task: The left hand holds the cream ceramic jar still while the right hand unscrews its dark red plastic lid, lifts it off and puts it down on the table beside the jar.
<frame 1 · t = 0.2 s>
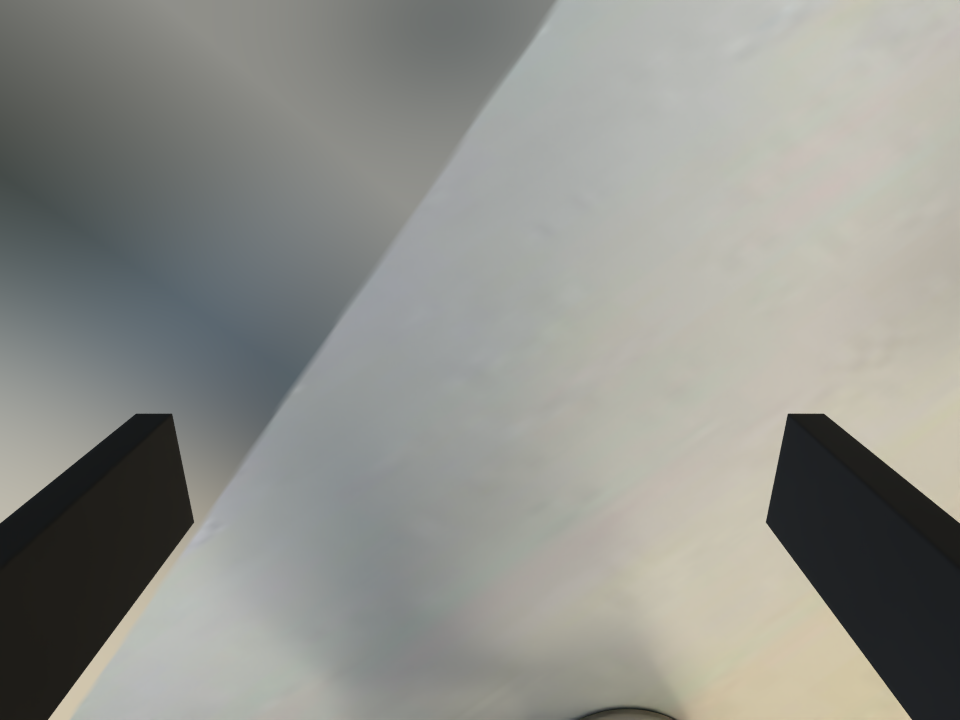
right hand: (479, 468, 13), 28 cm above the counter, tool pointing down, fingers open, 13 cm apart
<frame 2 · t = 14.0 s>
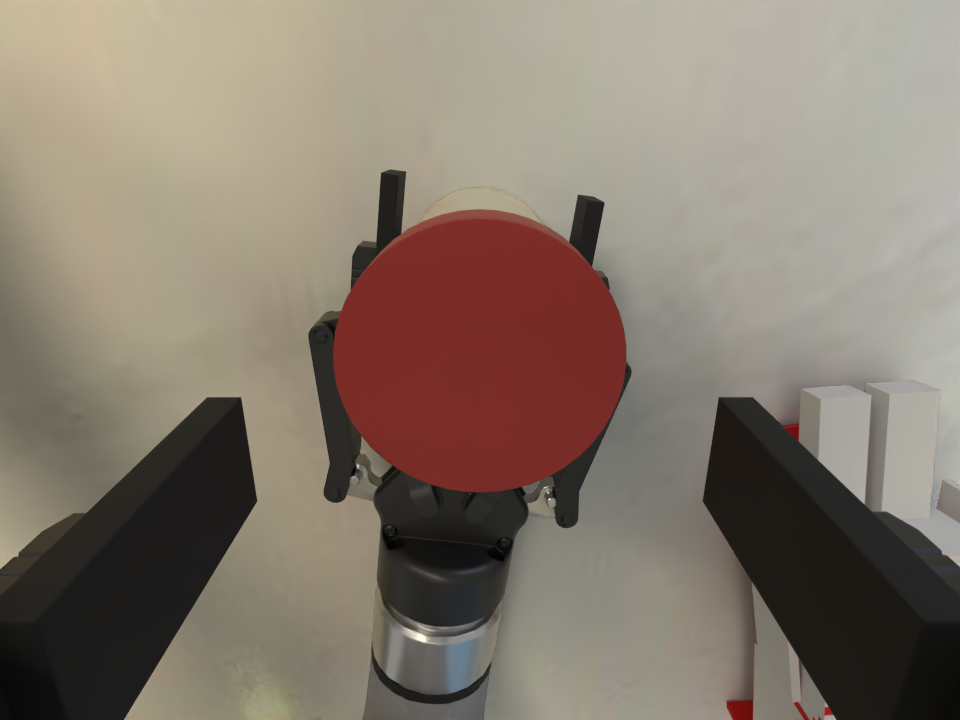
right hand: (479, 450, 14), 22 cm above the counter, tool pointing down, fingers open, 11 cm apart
jar: (479, 260, 35), on the counter, touching left hand
lid: (479, 363, 19), point 17 cm above the counter, screwed on, not yet turned
toy: (799, 560, 42), on the counter
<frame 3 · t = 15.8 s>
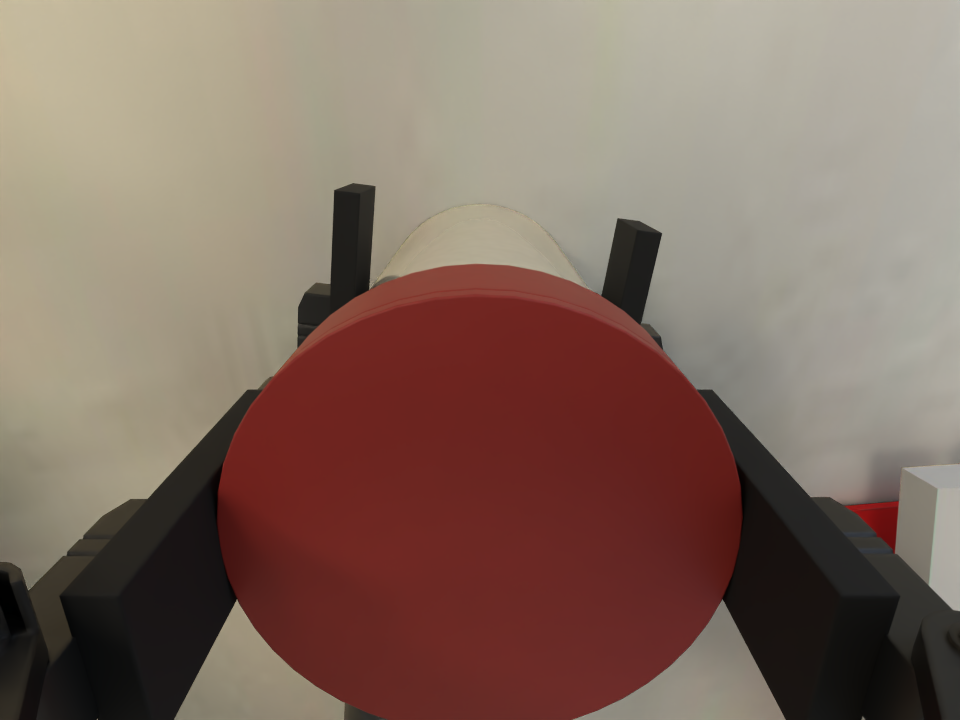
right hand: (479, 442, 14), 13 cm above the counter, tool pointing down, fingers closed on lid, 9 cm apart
jar: (479, 299, 26), on the counter, touching left hand
lid: (479, 536, 11), point 17 cm above the counter, screwed on, not yet turned, touching right hand
toy: (876, 662, 34), on the counter
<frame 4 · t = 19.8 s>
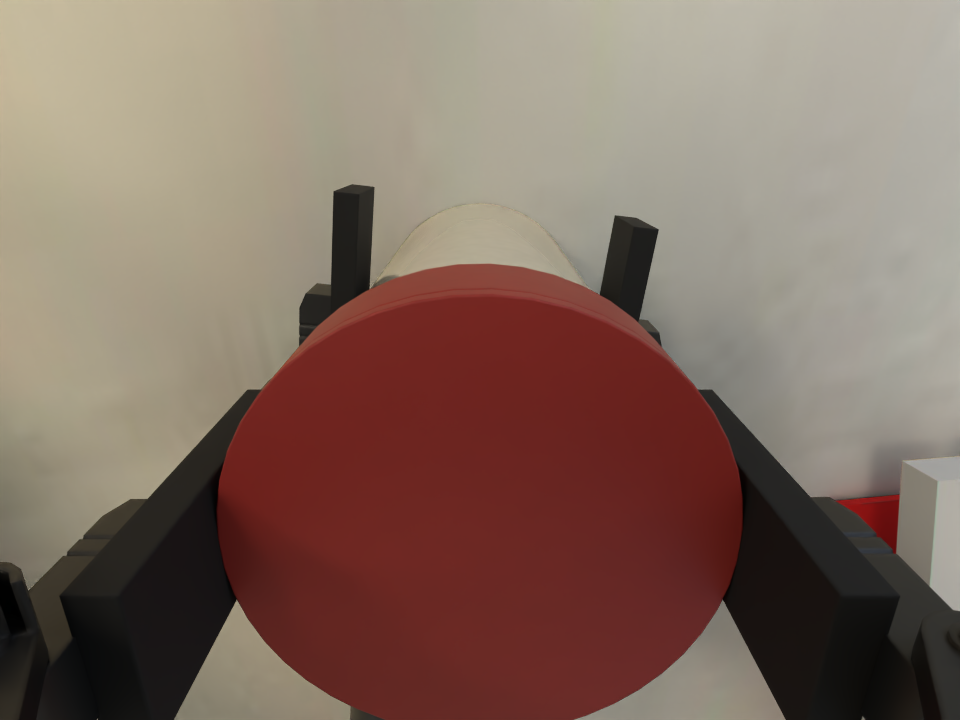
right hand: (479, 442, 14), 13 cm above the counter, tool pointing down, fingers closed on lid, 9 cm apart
jar: (479, 297, 27), on the counter, touching left hand
lid: (479, 536, 11), point 17 cm above the counter, turned 139° so far, risen 0.2 cm, still on its thread, touching right hand
toy: (880, 655, 34), on the counter
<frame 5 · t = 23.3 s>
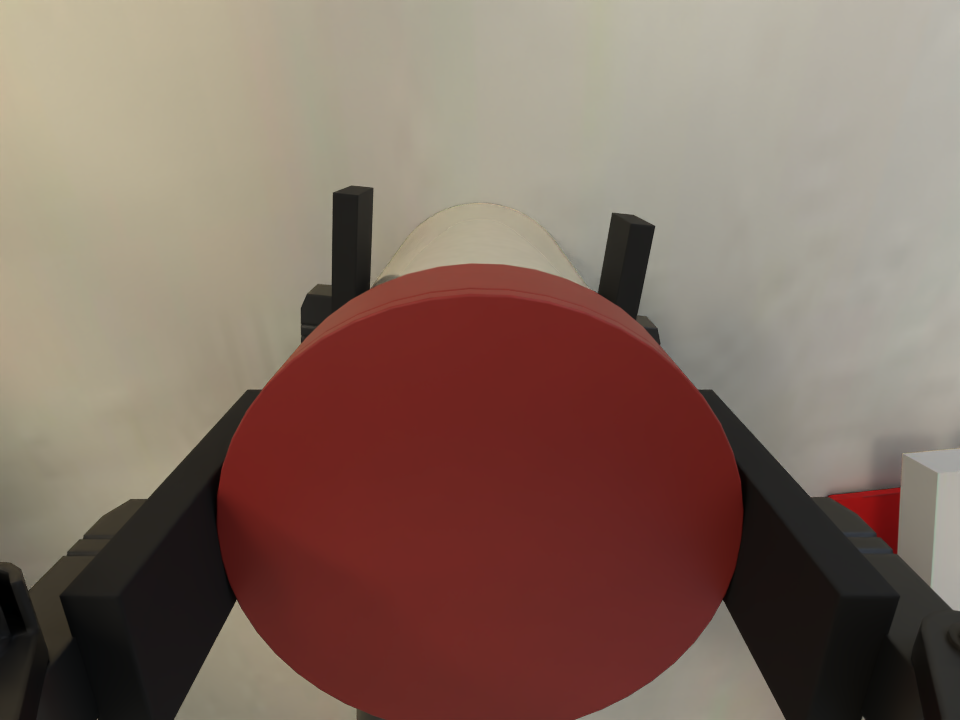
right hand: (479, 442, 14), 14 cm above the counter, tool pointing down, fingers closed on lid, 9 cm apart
jar: (479, 296, 27), on the counter, touching left hand
lid: (479, 536, 11), point 17 cm above the counter, turned 277° so far, risen 0.4 cm, still on its thread, touching right hand
toy: (884, 648, 34), on the counter
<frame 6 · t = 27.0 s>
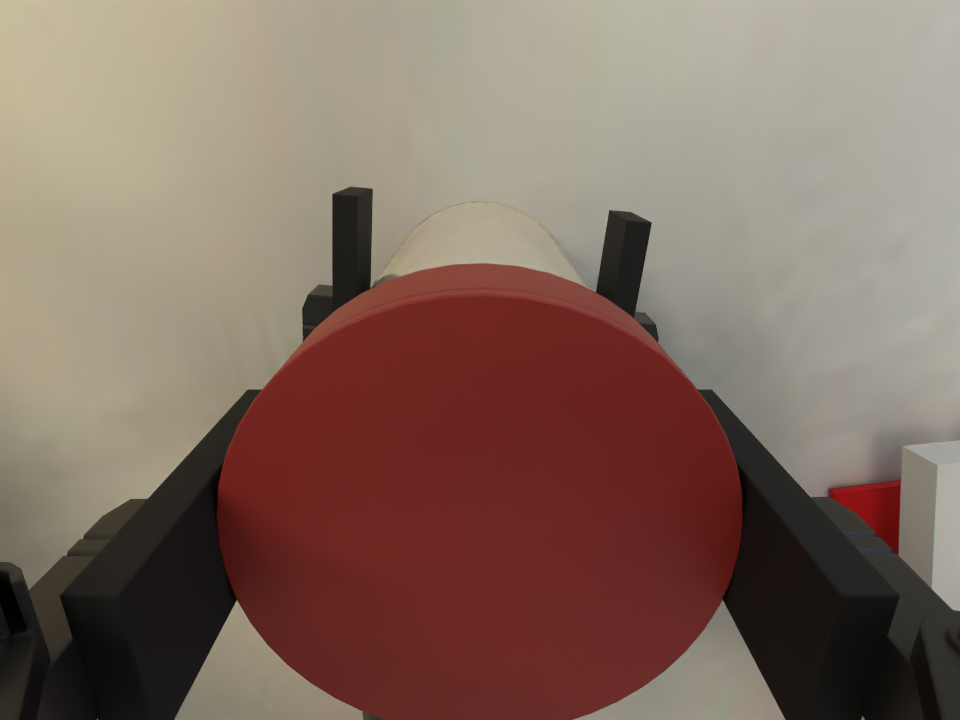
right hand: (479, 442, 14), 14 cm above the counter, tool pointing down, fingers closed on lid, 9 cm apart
jar: (479, 295, 27), on the counter, touching left hand
lid: (479, 536, 11), point 17 cm above the counter, turned 416° so far, risen 0.6 cm, still on its thread, touching right hand
toy: (887, 641, 34), on the counter
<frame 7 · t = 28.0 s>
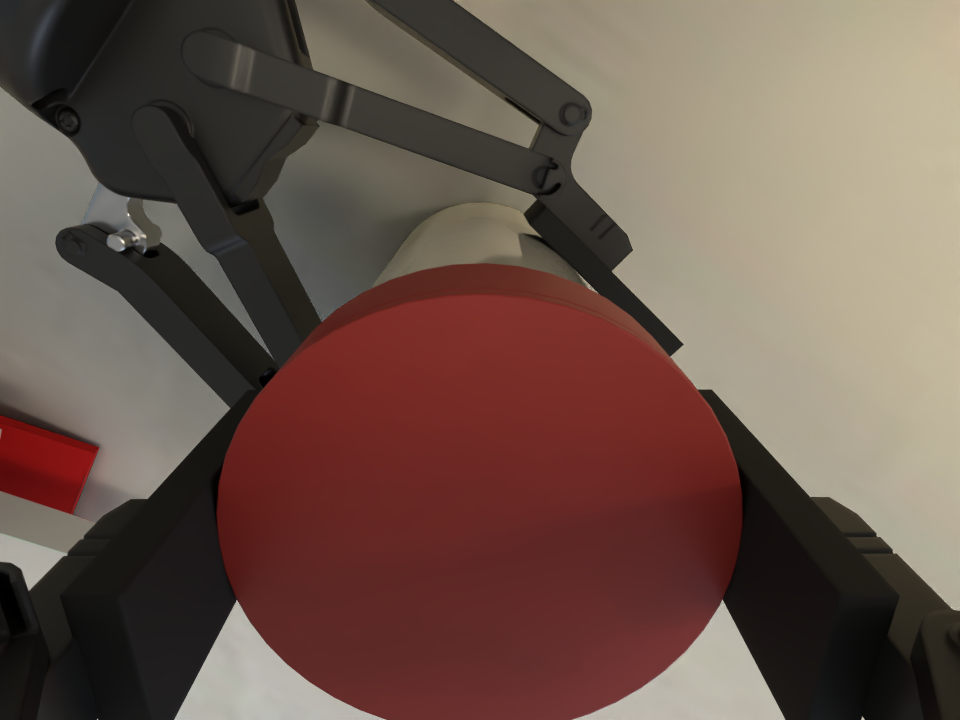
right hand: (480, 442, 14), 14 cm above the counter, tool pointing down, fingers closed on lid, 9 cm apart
jar: (479, 294, 27), on the counter, touching left hand
lid: (479, 536, 11), point 17 cm above the counter, off its thread, touching right hand
when the right hand's fingers open (0 cm above the counter, at t = 34.2 s): lid drops 2 cm, point 2 cm above the counter.
when the left hand's fingers open (6 cm above the counter, at t = 35.2 s): jar stays where it is, on the counter.
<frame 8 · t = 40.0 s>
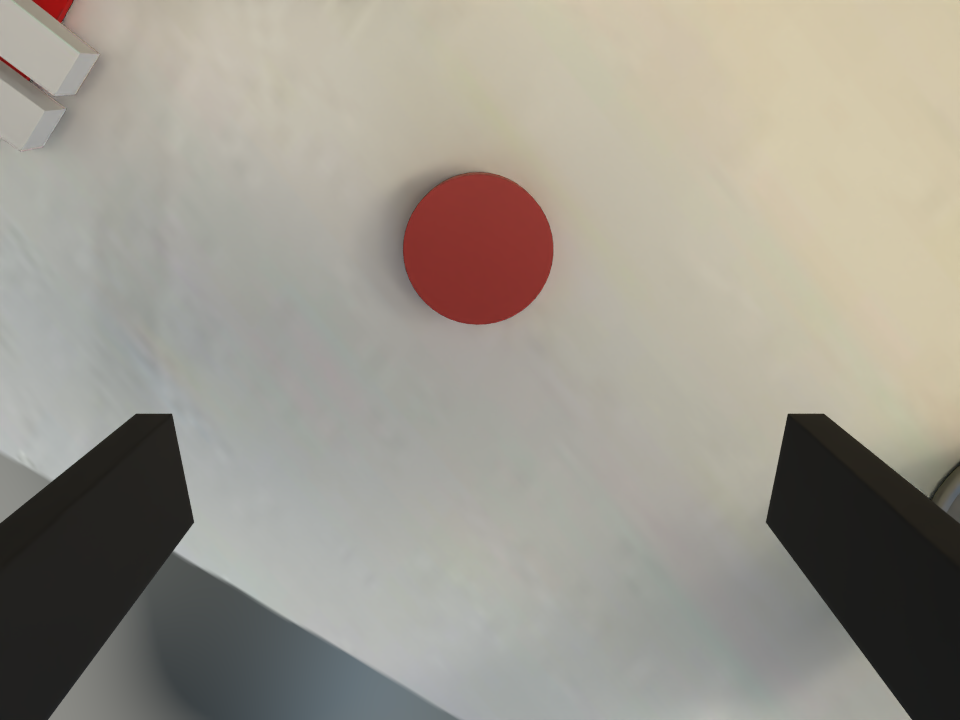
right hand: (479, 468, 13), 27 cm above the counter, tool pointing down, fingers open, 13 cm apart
lid: (478, 251, 37), point 2 cm above the counter, off its thread
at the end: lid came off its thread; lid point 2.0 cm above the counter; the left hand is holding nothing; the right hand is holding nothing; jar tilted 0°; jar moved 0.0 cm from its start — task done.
